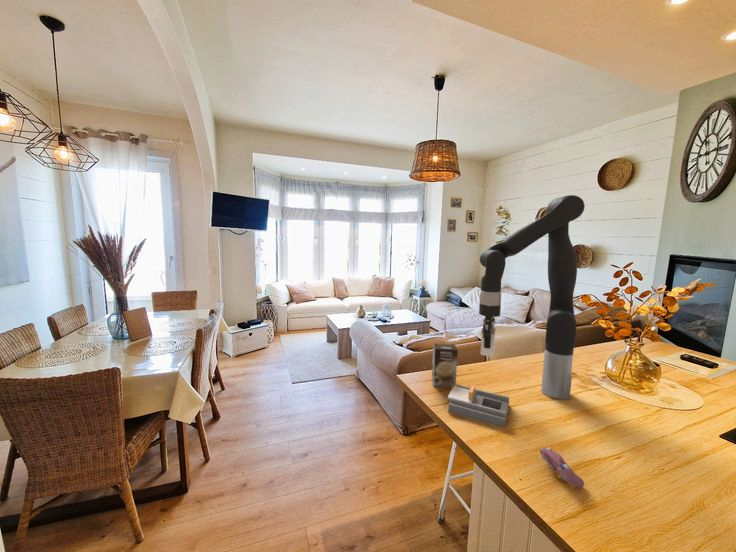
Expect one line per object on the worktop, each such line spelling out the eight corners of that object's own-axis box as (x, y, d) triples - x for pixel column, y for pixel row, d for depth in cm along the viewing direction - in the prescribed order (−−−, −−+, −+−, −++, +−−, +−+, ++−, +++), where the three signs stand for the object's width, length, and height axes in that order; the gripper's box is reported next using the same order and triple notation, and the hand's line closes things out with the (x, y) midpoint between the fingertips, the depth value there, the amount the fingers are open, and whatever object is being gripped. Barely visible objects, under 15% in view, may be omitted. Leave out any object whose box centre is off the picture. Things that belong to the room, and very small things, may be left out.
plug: (494, 353, 116) (495, 328, 115) (493, 356, 113) (494, 331, 111) (482, 351, 118) (483, 326, 117) (480, 354, 115) (481, 329, 114)
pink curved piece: (542, 465, 81) (533, 445, 80) (557, 457, 82) (548, 437, 80) (571, 496, 72) (561, 474, 70) (587, 487, 72) (578, 465, 71)
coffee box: (433, 386, 121) (434, 348, 119) (431, 379, 127) (432, 343, 125) (456, 388, 120) (457, 349, 118) (453, 380, 126) (454, 344, 124)
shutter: (475, 393, 110) (476, 383, 110) (471, 405, 102) (471, 394, 102) (453, 387, 114) (454, 378, 113) (447, 398, 106) (448, 388, 106)
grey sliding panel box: (508, 405, 108) (509, 394, 107) (504, 428, 95) (505, 416, 94) (458, 392, 116) (458, 382, 116) (448, 412, 103) (448, 400, 103)
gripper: (482, 298, 121) (480, 339, 123) (476, 305, 109) (474, 350, 111) (502, 300, 117) (500, 342, 119) (498, 307, 105) (496, 354, 107)
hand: (487, 345), depth 115 cm, fingers closed on plug, 4 cm apart
